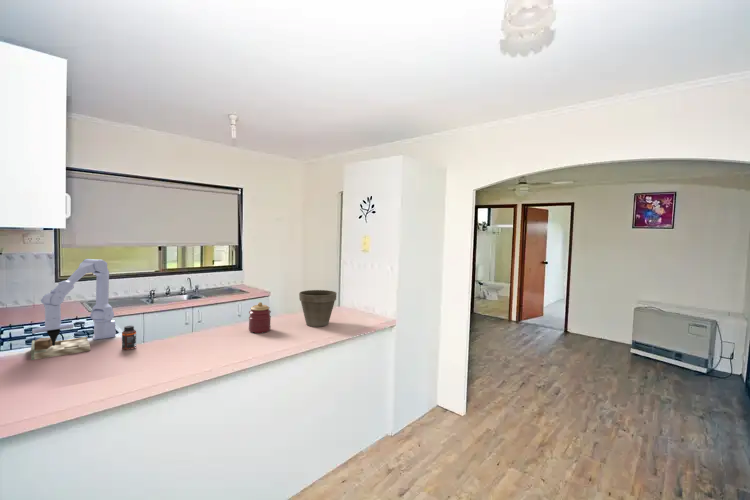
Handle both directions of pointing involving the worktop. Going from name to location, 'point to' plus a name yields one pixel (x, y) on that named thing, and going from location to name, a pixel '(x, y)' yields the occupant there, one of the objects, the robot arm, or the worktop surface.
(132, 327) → the supplement bottle
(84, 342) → the box
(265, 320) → the canister
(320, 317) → the plant pot
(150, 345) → the worktop surface
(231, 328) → the worktop surface
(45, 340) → the walnut block
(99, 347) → the worktop surface
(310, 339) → the worktop surface
